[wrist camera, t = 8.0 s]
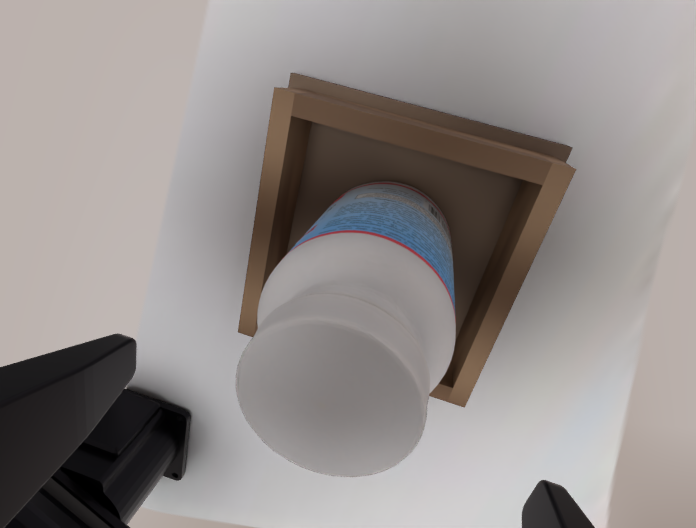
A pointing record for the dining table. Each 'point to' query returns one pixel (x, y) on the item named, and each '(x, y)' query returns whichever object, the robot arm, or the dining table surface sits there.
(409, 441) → the pill bottle
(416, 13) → the dining table surface
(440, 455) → the dining table surface
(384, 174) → the walnut socket
